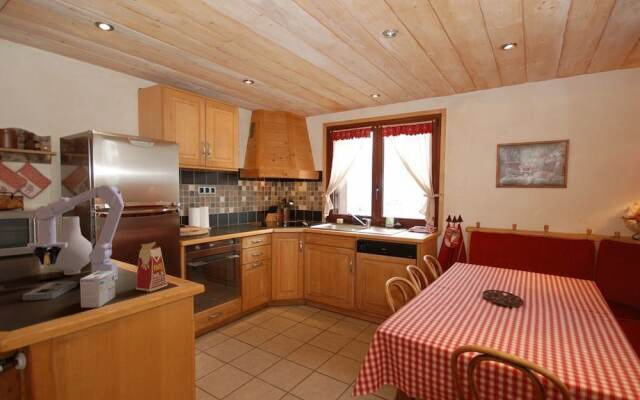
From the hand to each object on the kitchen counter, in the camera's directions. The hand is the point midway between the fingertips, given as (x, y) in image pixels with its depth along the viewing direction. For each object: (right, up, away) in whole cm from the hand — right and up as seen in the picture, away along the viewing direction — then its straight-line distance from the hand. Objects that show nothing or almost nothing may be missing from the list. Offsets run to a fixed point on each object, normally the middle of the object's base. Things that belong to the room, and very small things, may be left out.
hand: (48, 264), depth 139 cm
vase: (-4, -9, +19) cm, 21 cm away
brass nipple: (0, -2, 0) cm, 2 cm away
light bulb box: (+36, -11, -20) cm, 42 cm away
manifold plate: (+10, -10, -10) cm, 17 cm away
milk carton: (+46, -10, -2) cm, 47 cm away
